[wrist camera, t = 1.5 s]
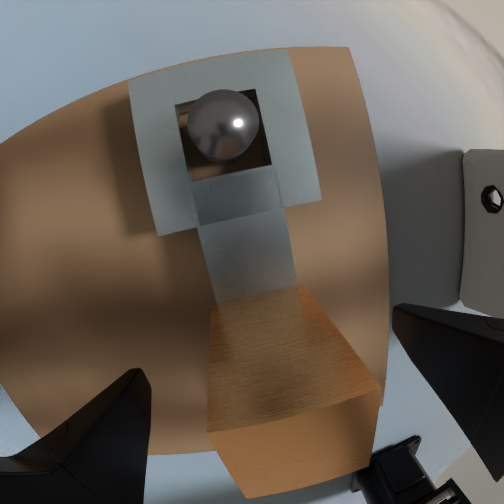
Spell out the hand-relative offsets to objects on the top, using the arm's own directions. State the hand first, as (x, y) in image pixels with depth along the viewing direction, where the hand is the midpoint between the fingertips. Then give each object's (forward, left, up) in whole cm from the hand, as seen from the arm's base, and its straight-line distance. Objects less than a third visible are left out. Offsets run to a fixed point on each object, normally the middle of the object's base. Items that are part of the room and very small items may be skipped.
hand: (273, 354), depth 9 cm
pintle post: (+7, 0, -3) cm, 8 cm away
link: (+1, 0, -2) cm, 3 cm away
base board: (+1, +6, -4) cm, 7 cm away
